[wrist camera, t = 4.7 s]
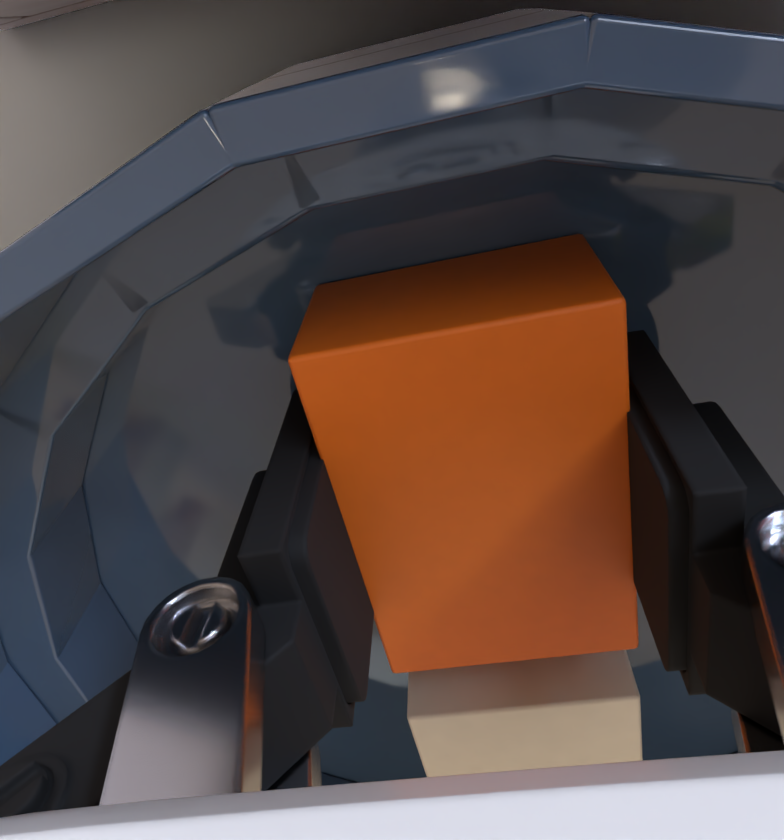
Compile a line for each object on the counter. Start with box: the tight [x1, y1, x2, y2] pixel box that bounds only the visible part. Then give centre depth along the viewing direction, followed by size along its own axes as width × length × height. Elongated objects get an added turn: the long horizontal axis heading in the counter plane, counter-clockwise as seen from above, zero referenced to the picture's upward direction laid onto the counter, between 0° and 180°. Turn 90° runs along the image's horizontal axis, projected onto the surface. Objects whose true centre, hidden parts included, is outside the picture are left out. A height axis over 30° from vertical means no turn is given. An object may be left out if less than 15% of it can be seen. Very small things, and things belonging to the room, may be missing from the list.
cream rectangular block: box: [407, 650, 643, 777], centre depth 14 cm, size 4×6×2 cm, turn 12°
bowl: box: [0, 8, 784, 786], centre depth 12 cm, size 19×19×4 cm
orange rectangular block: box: [288, 234, 639, 673], centre depth 10 cm, size 4×6×2 cm, turn 12°
